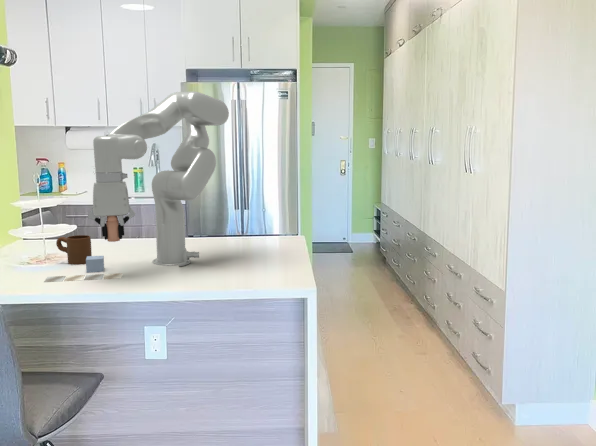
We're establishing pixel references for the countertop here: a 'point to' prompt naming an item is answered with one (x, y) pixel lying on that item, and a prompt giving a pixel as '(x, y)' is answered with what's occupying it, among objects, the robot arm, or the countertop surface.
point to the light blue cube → (94, 264)
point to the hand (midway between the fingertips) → (113, 237)
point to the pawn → (112, 228)
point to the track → (81, 277)
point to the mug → (76, 248)
